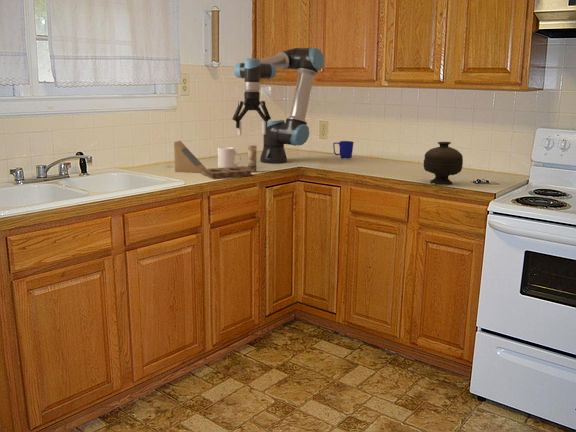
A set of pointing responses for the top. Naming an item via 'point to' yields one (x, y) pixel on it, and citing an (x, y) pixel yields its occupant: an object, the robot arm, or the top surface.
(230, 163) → the mug
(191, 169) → the sandwich container
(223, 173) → the board
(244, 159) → the top surface
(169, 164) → the top surface
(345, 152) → the mug
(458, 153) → the pot
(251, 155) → the peg
